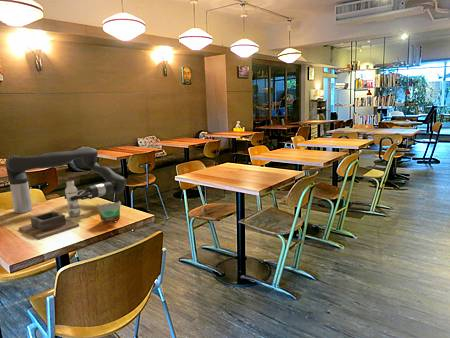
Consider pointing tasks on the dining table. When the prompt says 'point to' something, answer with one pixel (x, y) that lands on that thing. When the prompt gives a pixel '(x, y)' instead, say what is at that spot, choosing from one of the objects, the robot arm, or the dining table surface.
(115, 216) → the food container
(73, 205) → the plastic bottle
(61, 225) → the bottle holder
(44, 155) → the robot arm
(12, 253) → the dining table surface
